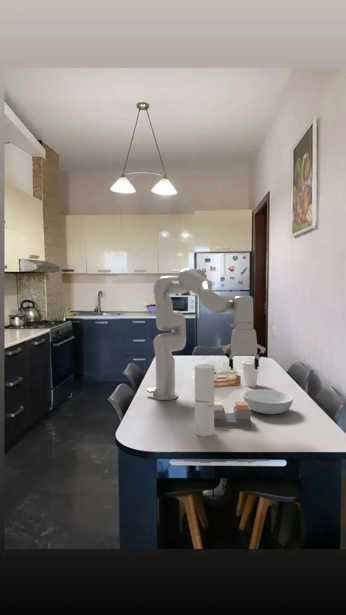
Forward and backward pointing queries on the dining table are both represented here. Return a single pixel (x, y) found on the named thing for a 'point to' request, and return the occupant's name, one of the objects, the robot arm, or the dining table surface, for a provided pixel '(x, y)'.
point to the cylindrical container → (204, 399)
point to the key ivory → (218, 406)
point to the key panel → (232, 418)
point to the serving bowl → (268, 401)
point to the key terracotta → (241, 406)
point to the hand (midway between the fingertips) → (243, 368)
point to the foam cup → (249, 373)
